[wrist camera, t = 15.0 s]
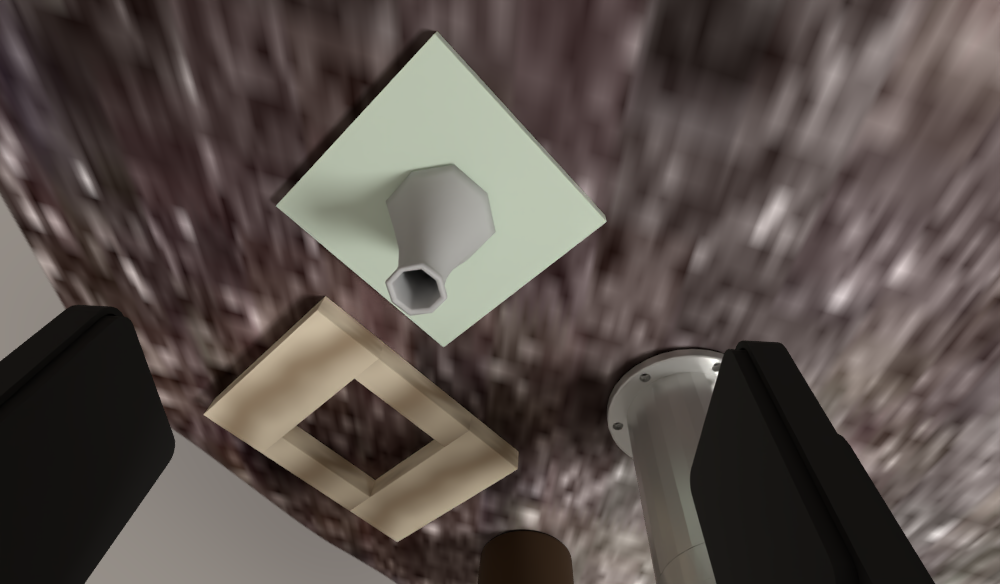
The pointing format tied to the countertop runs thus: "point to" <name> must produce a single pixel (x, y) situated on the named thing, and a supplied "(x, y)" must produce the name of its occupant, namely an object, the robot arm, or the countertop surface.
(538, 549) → the olive oil
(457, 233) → the flask
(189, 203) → the countertop surface
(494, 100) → the sage tile
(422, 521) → the tan flat rectangular frame
